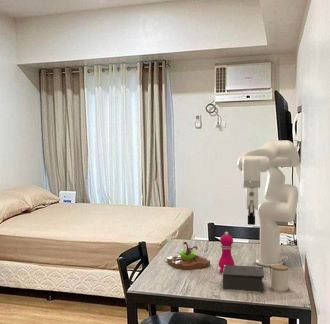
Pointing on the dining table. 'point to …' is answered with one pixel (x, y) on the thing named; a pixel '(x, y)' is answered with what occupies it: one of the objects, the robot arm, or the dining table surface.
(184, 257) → the plant
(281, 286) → the canister
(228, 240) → the pepper mill
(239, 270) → the lid
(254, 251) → the dining table surface
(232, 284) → the dark grey open box
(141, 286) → the dining table surface
